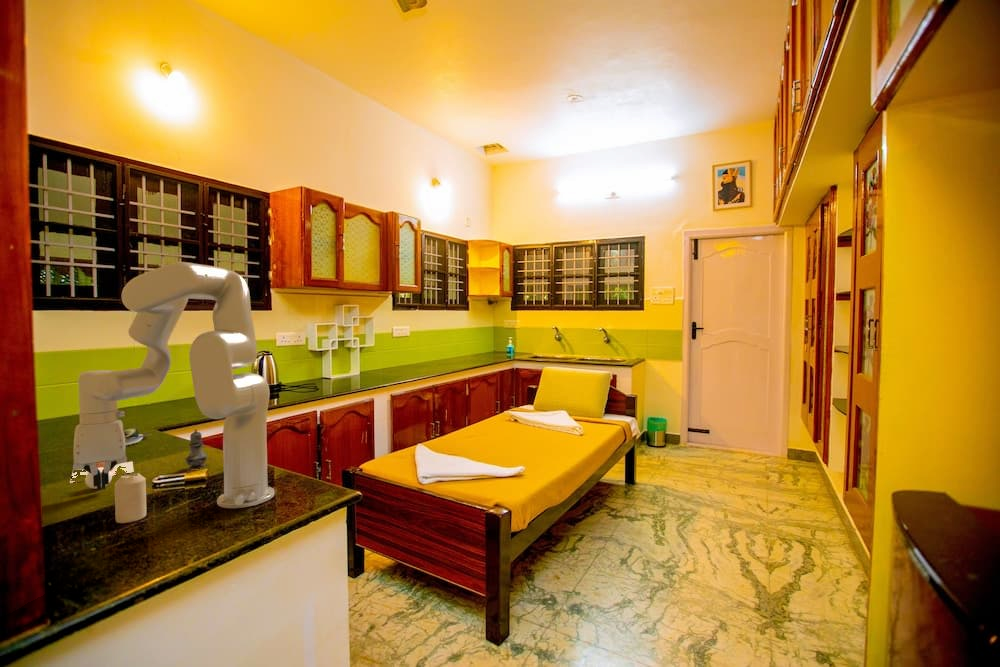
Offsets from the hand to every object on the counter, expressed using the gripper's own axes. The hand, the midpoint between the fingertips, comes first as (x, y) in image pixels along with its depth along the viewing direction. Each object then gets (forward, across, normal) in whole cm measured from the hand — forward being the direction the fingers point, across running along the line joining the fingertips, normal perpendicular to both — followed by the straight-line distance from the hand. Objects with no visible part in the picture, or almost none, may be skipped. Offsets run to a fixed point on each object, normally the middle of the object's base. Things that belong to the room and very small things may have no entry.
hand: (101, 487), depth 120 cm
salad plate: (+2, -3, -64) cm, 64 cm away
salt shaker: (+2, -22, -9) cm, 24 cm away
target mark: (+2, 0, -23) cm, 23 cm away
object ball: (-1, 0, -20) cm, 20 cm away
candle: (+2, -6, +25) cm, 25 cm away
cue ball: (-1, +1, -6) cm, 6 cm away
